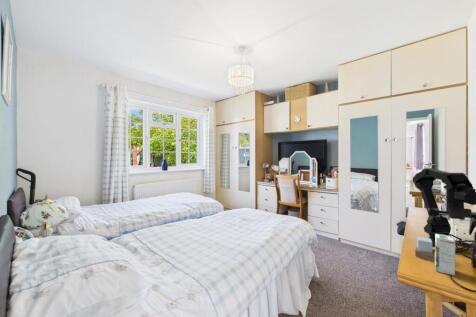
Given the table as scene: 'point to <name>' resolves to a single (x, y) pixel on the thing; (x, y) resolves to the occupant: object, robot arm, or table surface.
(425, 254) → the walnut block
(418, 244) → the painted cube
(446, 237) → the syrup box
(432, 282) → the table surface
